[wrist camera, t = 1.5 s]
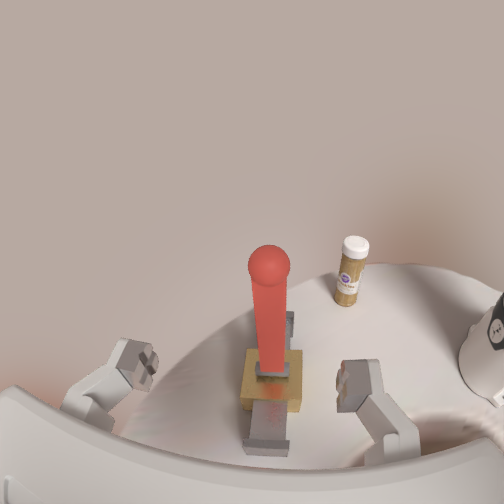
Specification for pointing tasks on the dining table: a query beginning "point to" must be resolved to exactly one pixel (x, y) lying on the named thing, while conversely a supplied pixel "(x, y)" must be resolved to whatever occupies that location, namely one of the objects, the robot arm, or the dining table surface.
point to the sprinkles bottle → (351, 269)
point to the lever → (270, 308)
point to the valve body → (271, 400)
